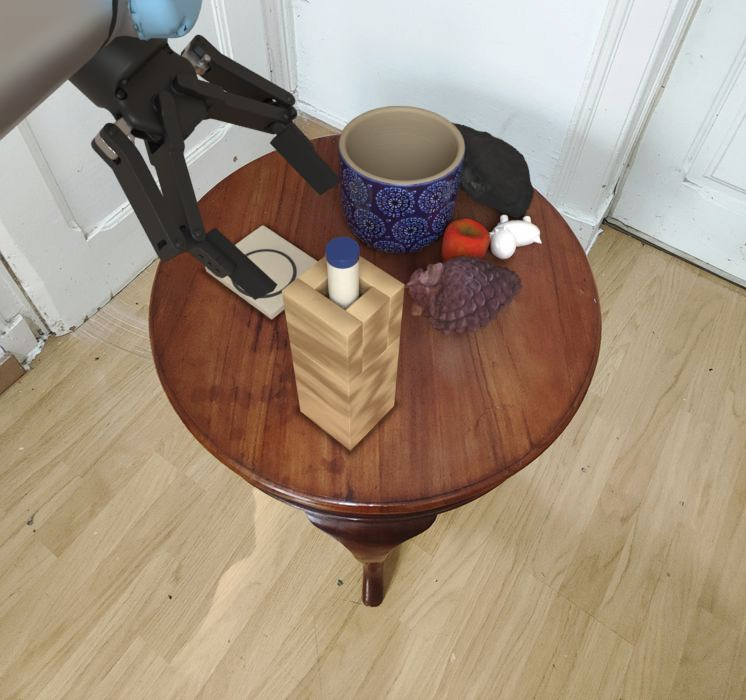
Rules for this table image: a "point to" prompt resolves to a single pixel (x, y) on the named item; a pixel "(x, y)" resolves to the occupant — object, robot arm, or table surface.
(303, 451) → the table surface
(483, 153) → the rock
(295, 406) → the table surface
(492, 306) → the pine cone
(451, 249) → the apple
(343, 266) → the marker
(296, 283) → the pen block
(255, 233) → the drawing board
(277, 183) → the table surface
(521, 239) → the toy creature
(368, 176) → the planter
